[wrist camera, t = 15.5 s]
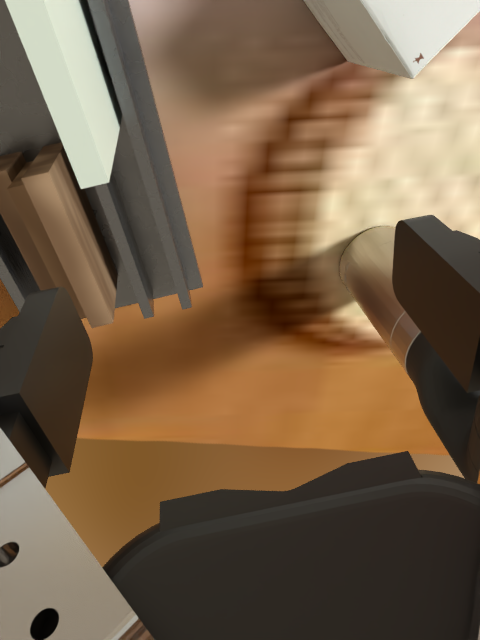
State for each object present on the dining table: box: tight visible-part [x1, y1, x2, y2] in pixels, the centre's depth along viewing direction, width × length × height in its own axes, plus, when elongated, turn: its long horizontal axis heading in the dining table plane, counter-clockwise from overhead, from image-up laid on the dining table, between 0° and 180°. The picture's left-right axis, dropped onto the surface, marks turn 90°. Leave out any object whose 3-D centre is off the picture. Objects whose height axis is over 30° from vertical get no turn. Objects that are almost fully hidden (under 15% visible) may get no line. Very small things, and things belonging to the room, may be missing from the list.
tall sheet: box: [5, 0, 122, 189], centre depth 27 cm, size 2×16×18 cm, turn 10°
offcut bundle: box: [0, 142, 118, 328], centre depth 40 cm, size 6×14×9 cm, turn 10°
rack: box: [0, 0, 203, 319], centre depth 38 cm, size 19×38×6 cm, turn 10°
